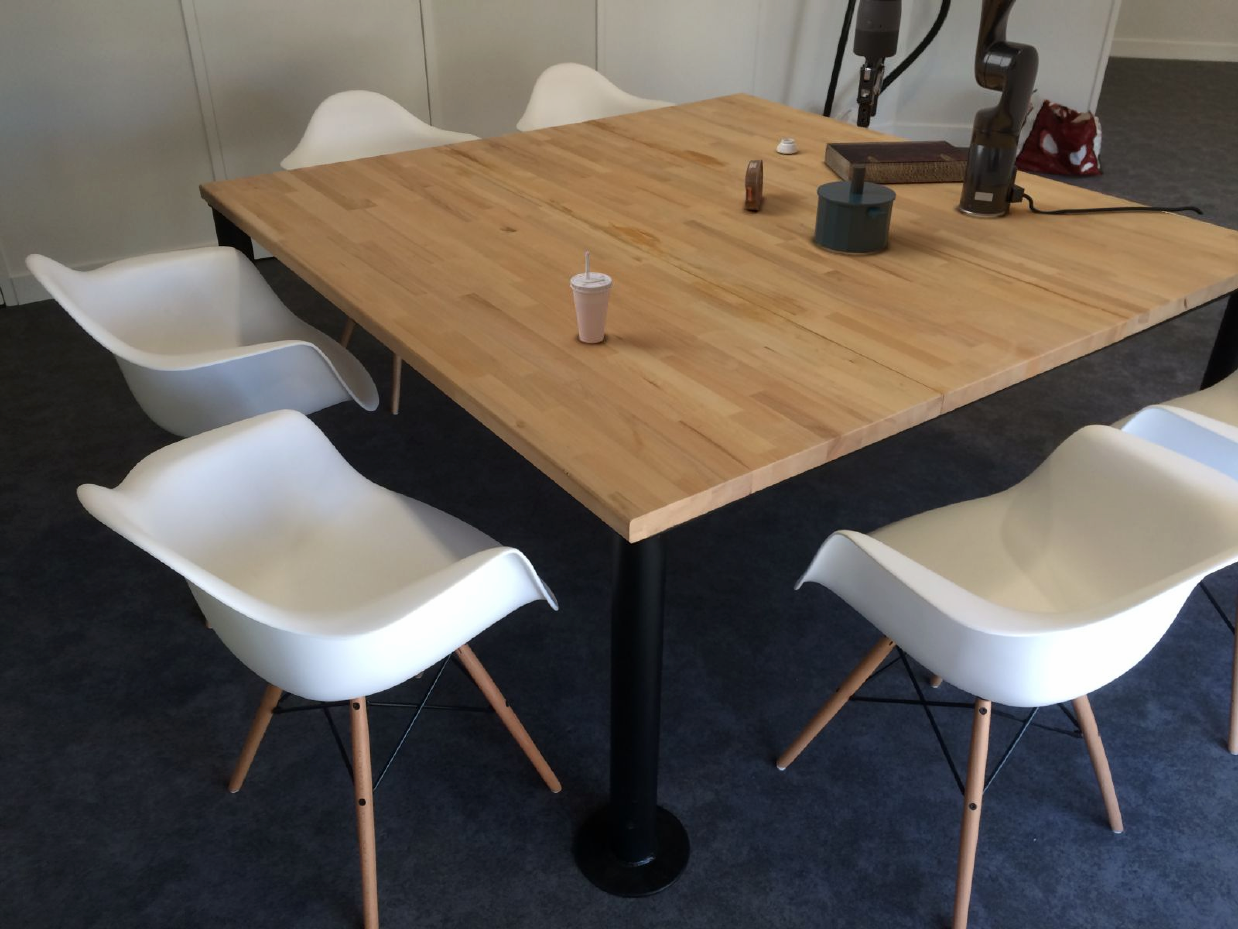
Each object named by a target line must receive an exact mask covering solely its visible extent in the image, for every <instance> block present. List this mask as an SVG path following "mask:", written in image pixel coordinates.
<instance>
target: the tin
mask: <svg viewBox="0 0 1238 929" xmlns="http://www.w3.org/2000/svg"><path fill="white" fill-rule="evenodd" d="M763 182H764V162H763V159H753V160H749V163H748V165H747V167H746V171H745V178H744V188H745V200H744V207H745V209H746V210H748V211H759V209H760V206H761V202H762V199H763V189H764V188H763V187H764V183H763Z"/></svg>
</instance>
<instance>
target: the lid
mask: <svg viewBox="0 0 1238 929" xmlns="http://www.w3.org/2000/svg"><path fill="white" fill-rule="evenodd" d="M865 172H866V166H864V165H854V166H853V170H852V179H851V181H844V180H838V181H831V182H826V183H823V184H821V185H819V186H818V187H817V189H816V194H817V196H819V197H821V198H822V199H824V200H827V201H829V202H833V203H837V204H841V205H848V206H862V207H867V206H880V205H885V204H888V203H891V202H893V203H894V201H896V199H897V193H896V192H895V190H893V189H892V188H890V187H887V186H886V185H883V184H880V183H869V182H864V180H865Z"/></svg>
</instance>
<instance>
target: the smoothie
mask: <svg viewBox="0 0 1238 929" xmlns="http://www.w3.org/2000/svg"><path fill="white" fill-rule="evenodd" d="M570 288H571V289H572V295H573V301H574V307H575V314H576V321H577V330H578V335H579V340H580V341H581V342H583V343H586V344H597V343H598V344H599V343H600V342H603V341H604V337H605V330H606V324H607V323H606V322H607V314H608V306H609V300H610V291H611V289H612V288H613V278H612V277H611V276H610V275H608V274H605V273H602V272H595V271H593V272H590V251H585V272H582V273H578V274H574V275H573V276H572V277H571V278H570Z"/></svg>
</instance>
